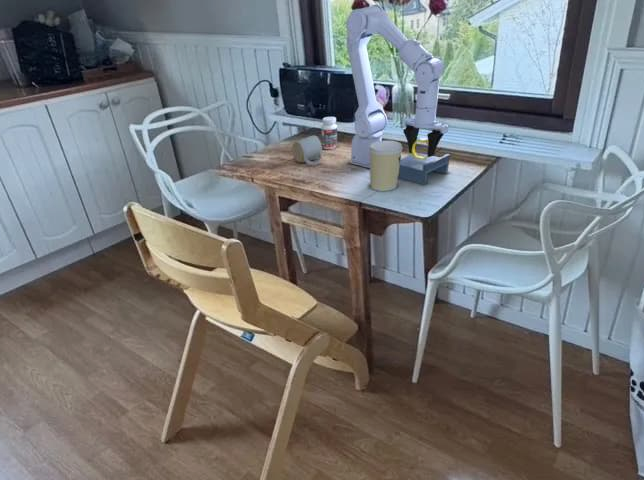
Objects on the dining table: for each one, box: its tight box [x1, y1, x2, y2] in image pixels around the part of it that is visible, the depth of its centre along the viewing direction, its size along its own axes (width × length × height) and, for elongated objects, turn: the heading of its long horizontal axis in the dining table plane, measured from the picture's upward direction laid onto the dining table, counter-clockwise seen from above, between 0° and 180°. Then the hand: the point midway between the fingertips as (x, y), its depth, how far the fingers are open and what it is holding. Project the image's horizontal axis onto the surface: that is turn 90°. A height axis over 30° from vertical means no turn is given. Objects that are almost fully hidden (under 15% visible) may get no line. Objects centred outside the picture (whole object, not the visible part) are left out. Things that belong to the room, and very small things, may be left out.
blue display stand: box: [398, 151, 451, 185], centre depth 158 cm, size 12×12×6 cm
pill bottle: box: [320, 116, 338, 150], centre depth 185 cm, size 6×6×10 cm
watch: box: [411, 136, 428, 160], centre depth 155 cm, size 6×3×6 cm, turn 49°
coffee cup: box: [369, 140, 403, 192], centre depth 152 cm, size 9×9×12 cm
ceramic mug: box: [291, 134, 323, 167], centre depth 176 cm, size 11×8×8 cm
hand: (421, 154), depth 156 cm, fingers closed on watch, 6 cm apart
